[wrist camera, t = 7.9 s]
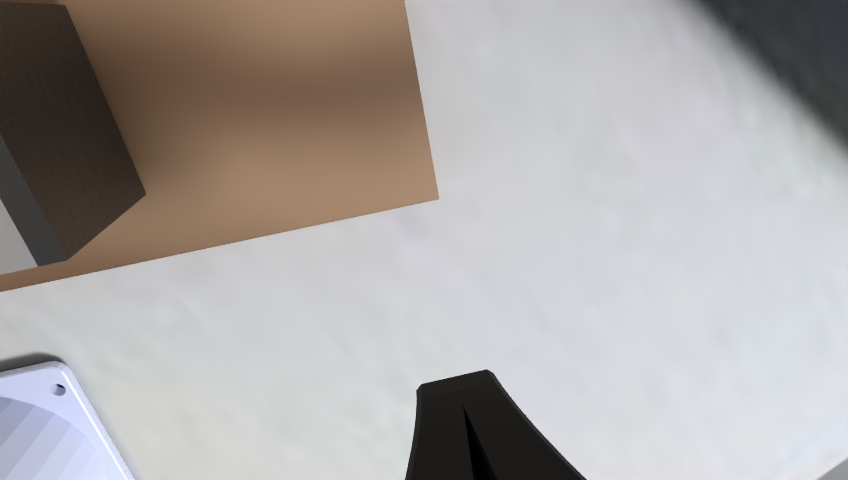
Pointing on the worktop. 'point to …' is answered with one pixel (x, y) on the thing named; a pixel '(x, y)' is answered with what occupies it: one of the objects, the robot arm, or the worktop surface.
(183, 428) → the worktop surface
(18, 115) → the gauge carriage
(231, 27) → the gauge board
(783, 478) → the worktop surface
